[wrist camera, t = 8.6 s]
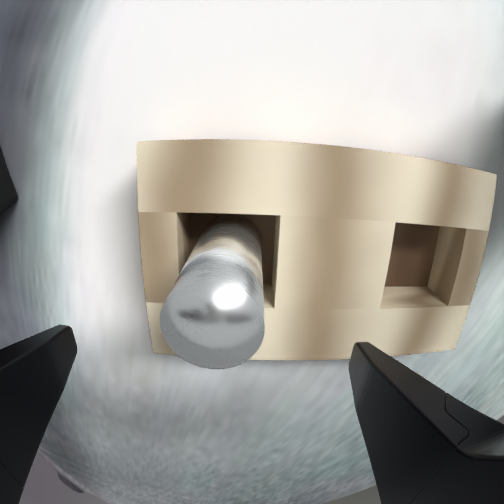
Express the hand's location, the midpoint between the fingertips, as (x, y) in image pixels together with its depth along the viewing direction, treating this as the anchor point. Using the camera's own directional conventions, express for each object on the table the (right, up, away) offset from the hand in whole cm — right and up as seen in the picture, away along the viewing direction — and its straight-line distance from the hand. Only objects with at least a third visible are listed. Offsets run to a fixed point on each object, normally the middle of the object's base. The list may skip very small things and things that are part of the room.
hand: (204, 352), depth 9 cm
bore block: (+6, +4, +11) cm, 13 cm away
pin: (0, +3, +10) cm, 10 cm away
